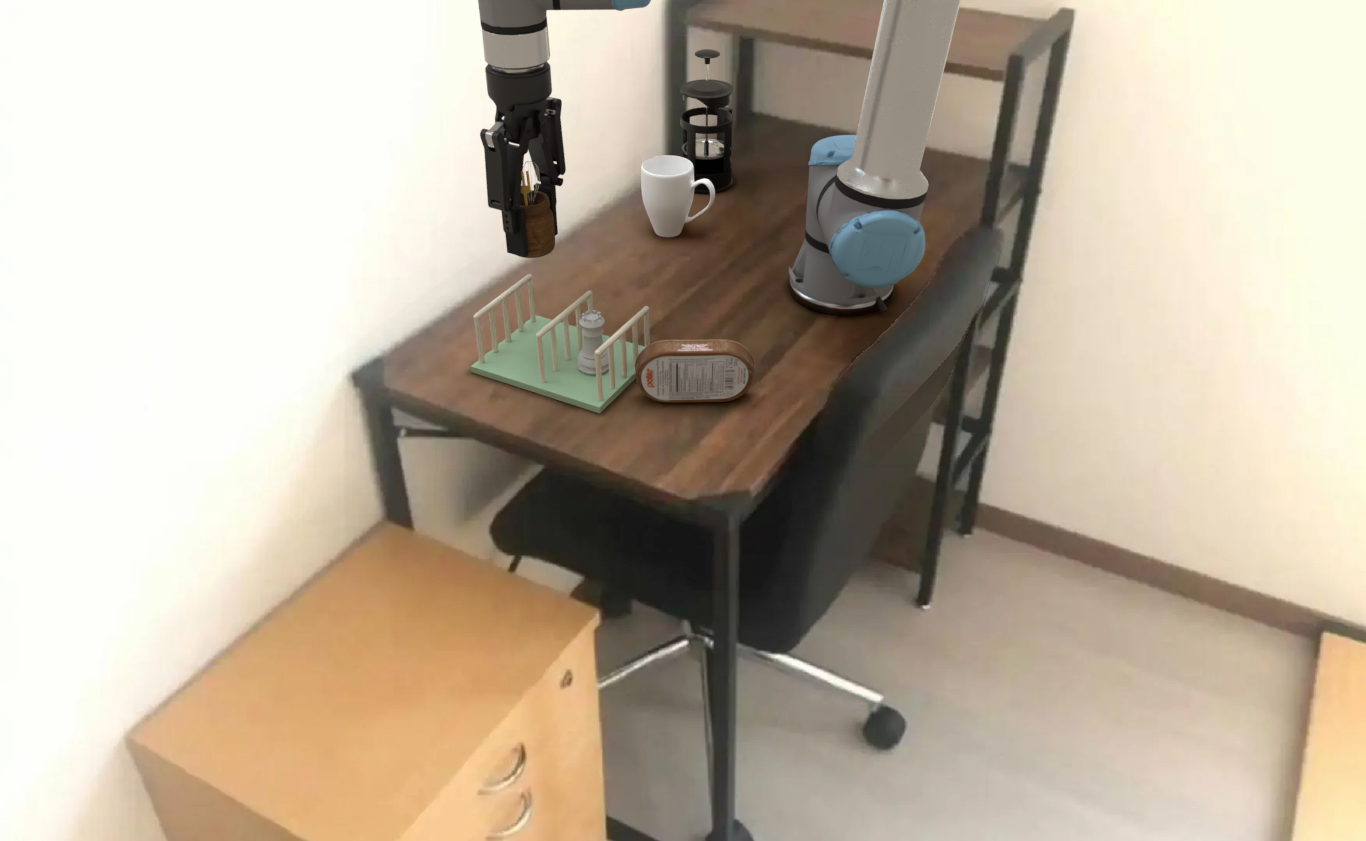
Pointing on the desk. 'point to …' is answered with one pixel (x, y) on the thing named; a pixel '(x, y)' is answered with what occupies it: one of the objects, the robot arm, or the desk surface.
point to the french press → (709, 129)
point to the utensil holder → (537, 218)
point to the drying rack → (557, 353)
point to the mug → (670, 193)
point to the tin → (694, 370)
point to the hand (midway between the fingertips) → (532, 242)
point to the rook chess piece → (592, 343)
